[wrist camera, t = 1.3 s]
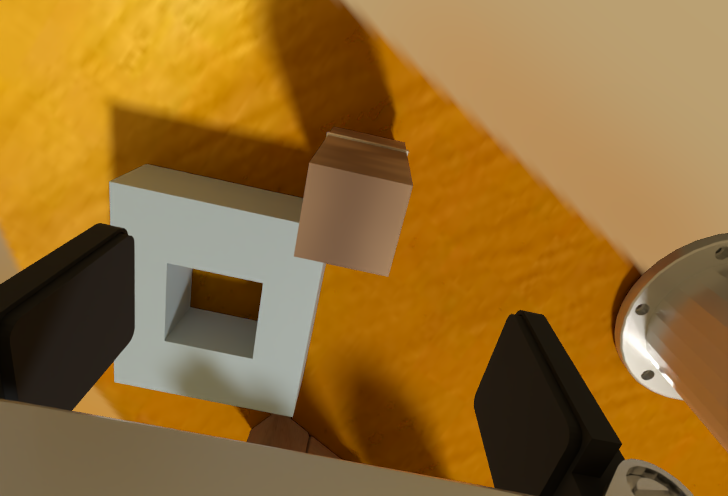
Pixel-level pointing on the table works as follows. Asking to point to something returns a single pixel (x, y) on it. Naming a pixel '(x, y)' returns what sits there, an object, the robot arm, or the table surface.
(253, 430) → the wooden block structure
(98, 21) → the table surface
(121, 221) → the grey square-hole block
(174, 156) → the table surface
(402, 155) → the peg
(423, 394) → the table surface
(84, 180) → the table surface
